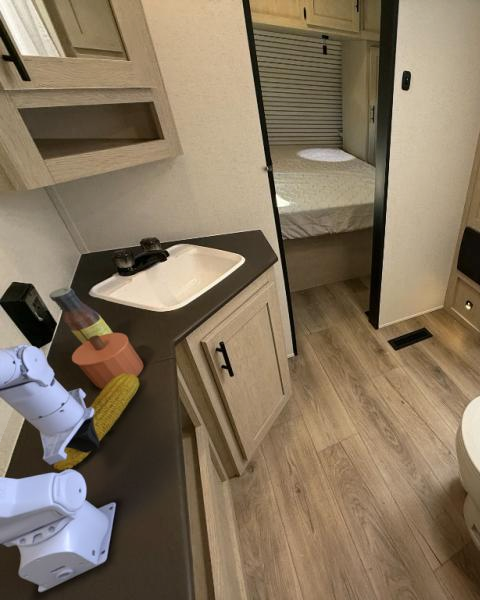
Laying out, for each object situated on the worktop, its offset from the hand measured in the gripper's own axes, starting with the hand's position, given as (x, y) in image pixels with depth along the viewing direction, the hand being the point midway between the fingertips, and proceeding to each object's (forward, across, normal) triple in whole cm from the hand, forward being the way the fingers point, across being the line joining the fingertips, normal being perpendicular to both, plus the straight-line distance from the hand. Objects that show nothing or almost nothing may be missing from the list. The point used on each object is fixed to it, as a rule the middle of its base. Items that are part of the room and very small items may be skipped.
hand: (92, 447), depth 61 cm
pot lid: (-5, +24, 0) cm, 24 cm away
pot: (+3, +24, 0) cm, 24 cm away
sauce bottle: (+3, +34, +4) cm, 35 cm away
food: (+3, +8, 0) cm, 9 cm away
